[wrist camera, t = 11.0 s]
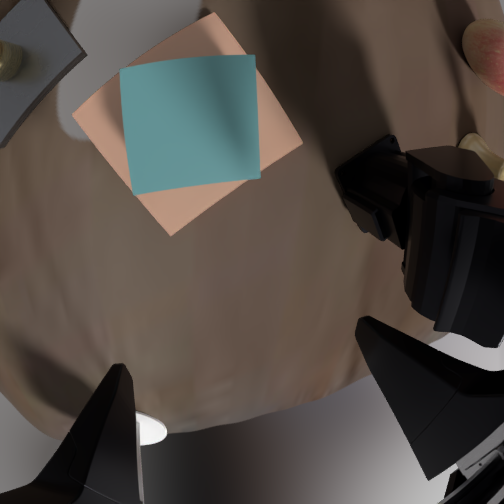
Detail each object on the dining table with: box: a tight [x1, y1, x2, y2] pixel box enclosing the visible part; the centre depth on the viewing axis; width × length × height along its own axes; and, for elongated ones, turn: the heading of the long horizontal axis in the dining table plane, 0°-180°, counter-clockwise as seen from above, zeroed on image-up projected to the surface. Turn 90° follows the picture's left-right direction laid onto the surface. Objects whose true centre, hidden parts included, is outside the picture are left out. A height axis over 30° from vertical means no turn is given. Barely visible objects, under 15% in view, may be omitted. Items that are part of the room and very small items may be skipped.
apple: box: [462, 19, 504, 96], centre depth 13 cm, size 9×9×8 cm
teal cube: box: [120, 55, 261, 196], centre depth 13 cm, size 6×6×5 cm
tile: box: [72, 12, 303, 236], centre depth 16 cm, size 11×11×1 cm
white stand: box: [136, 411, 167, 504], centre depth 23 cm, size 12×11×15 cm
